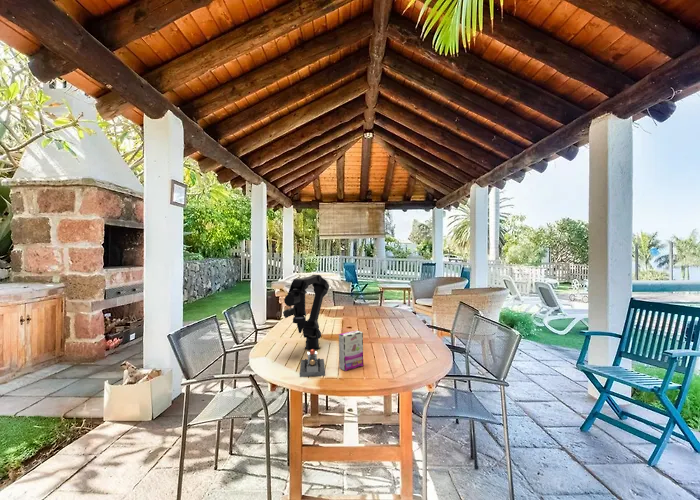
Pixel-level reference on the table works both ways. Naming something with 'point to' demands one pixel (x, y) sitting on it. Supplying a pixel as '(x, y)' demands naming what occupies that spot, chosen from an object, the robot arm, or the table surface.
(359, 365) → the candy bar box
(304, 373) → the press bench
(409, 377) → the table surface
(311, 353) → the lever
